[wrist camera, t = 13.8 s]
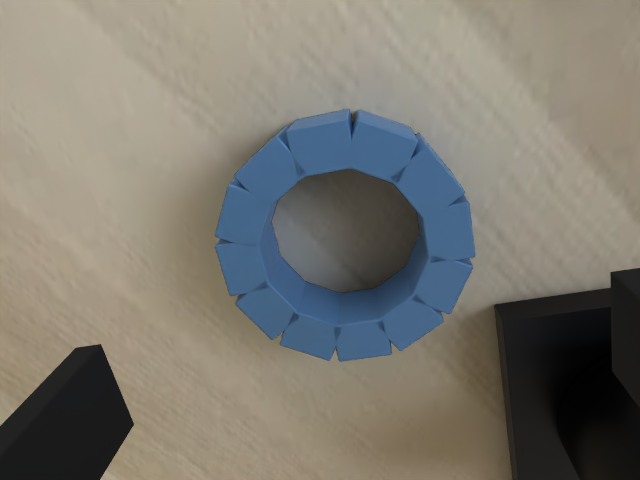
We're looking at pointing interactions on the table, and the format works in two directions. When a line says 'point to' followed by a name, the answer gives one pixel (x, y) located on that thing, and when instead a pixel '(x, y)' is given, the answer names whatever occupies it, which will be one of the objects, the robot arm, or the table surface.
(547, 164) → the table surface
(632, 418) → the tape holder
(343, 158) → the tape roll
